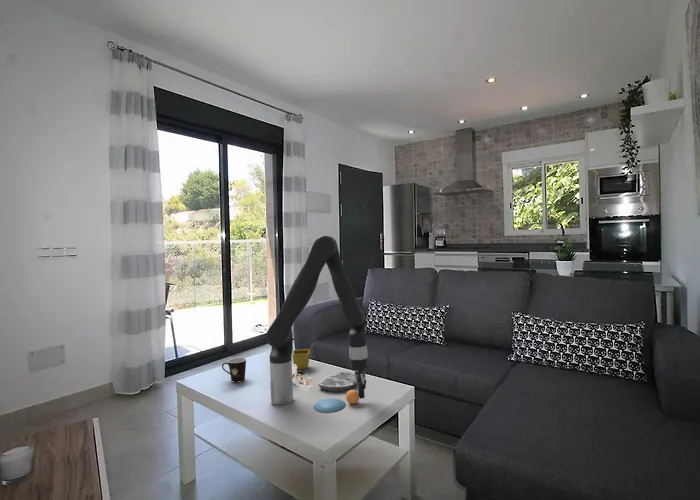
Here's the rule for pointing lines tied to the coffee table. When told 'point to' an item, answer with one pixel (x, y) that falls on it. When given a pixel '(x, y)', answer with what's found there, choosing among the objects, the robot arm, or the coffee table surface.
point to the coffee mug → (236, 369)
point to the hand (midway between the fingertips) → (361, 397)
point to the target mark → (329, 405)
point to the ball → (352, 396)
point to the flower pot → (301, 358)
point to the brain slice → (338, 382)
